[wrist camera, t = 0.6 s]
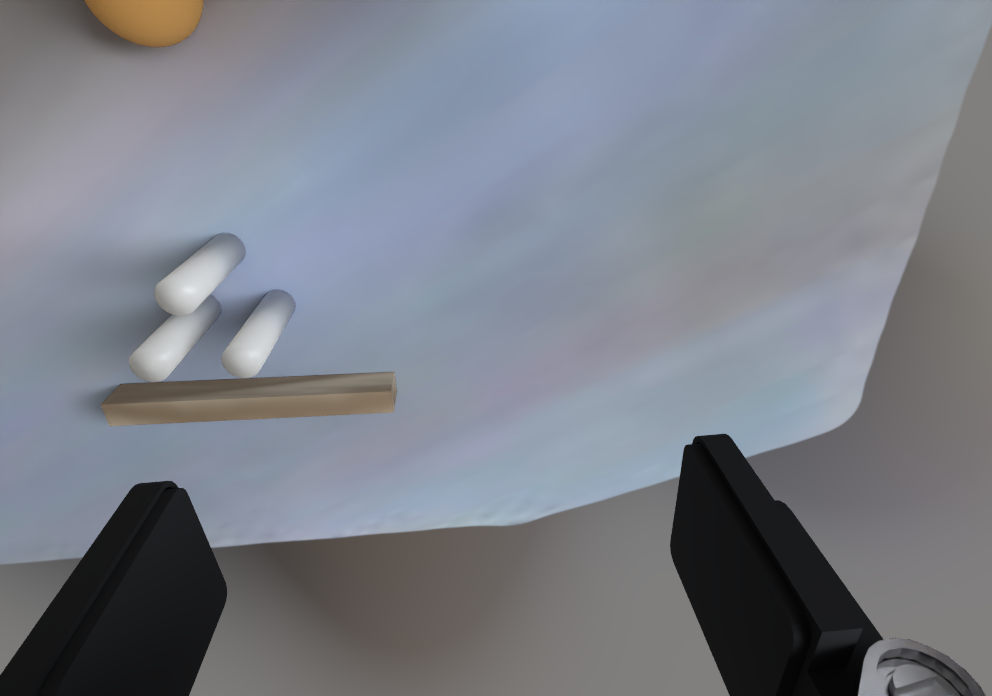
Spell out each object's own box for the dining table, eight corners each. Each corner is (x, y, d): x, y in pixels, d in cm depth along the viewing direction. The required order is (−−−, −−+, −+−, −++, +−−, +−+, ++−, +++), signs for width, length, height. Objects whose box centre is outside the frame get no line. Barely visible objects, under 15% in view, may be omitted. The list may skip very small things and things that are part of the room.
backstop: (120, 384, 46) (100, 404, 43) (394, 372, 47) (391, 391, 44) (128, 404, 47) (109, 426, 44) (396, 392, 48) (393, 412, 45)
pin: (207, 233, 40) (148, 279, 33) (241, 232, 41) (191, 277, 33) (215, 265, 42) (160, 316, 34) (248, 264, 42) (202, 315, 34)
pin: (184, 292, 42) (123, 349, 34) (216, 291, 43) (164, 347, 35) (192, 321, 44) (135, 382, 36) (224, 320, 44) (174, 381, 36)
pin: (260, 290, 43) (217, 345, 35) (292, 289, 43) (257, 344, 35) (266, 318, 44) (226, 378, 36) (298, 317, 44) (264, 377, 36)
